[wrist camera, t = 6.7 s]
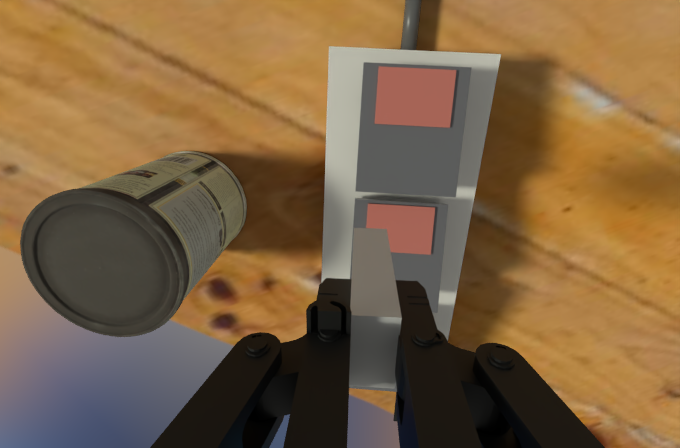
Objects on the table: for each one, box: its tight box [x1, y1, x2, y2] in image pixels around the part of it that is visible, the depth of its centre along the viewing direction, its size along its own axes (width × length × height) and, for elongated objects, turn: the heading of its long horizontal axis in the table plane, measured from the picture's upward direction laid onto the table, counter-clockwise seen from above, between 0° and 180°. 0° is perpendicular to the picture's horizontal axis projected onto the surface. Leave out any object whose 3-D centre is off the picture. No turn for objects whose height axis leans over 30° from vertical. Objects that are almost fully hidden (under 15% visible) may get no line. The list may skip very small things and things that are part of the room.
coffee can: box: [20, 151, 247, 337], centre depth 29 cm, size 10×10×14 cm
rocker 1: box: [355, 62, 472, 197], centre depth 25 cm, size 8×7×2 cm
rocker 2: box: [350, 198, 448, 313], centre depth 29 cm, size 8×7×2 cm
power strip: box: [321, 0, 501, 341], centre depth 32 cm, size 35×12×6 cm, turn 178°
